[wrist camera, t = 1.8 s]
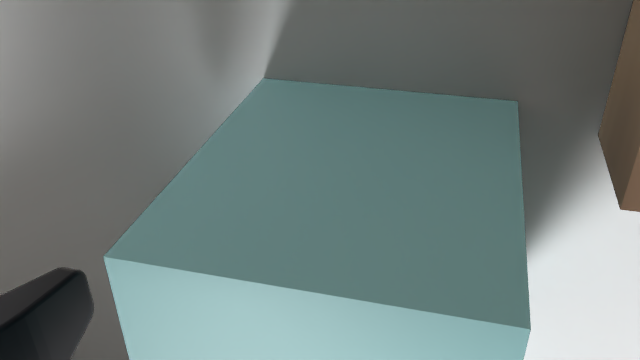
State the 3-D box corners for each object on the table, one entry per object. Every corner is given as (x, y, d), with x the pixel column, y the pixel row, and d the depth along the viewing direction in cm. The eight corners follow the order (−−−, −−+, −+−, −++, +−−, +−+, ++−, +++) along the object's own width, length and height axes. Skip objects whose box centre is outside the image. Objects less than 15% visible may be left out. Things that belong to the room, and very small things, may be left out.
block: (482, 300, 14) (471, 573, 9) (275, 266, 15) (163, 493, 10) (517, 100, 11) (530, 329, 6) (264, 77, 12) (103, 256, 7)
